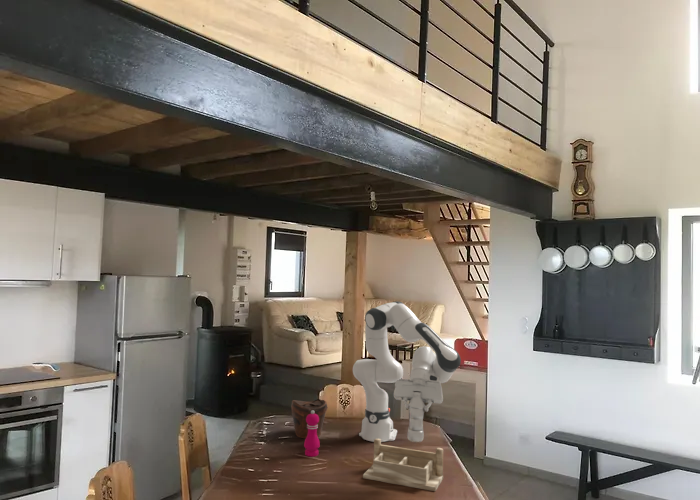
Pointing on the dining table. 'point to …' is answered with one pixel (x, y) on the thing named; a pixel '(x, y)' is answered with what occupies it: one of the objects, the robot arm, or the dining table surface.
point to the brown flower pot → (303, 409)
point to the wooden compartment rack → (406, 466)
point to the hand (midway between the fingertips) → (416, 409)
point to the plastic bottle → (416, 417)
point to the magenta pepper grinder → (312, 435)
